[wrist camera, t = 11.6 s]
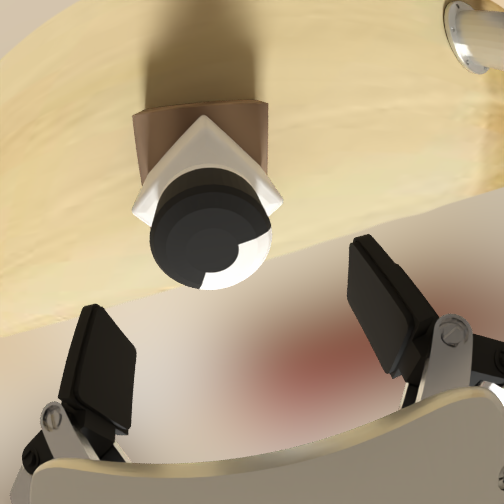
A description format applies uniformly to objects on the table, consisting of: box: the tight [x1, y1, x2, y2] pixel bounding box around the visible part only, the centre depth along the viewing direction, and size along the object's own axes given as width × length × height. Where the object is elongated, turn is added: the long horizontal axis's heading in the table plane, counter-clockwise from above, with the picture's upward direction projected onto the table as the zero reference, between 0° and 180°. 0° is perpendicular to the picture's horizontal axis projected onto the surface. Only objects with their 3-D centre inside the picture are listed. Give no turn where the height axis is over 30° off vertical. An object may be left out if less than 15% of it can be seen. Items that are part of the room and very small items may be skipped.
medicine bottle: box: [132, 115, 283, 290], centre depth 17 cm, size 7×7×12 cm
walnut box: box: [132, 100, 268, 229], centre depth 25 cm, size 11×11×6 cm
